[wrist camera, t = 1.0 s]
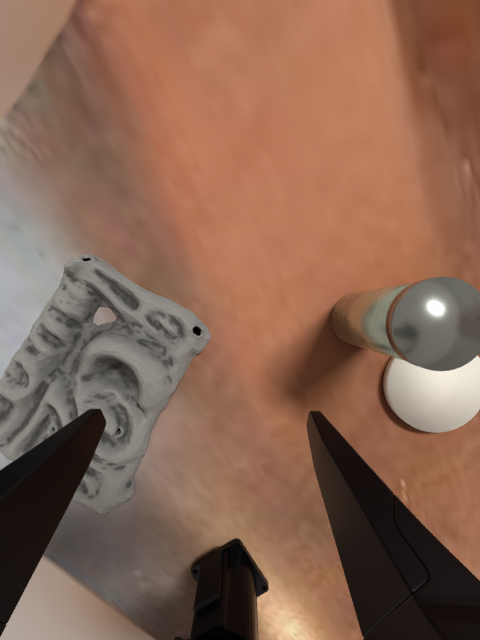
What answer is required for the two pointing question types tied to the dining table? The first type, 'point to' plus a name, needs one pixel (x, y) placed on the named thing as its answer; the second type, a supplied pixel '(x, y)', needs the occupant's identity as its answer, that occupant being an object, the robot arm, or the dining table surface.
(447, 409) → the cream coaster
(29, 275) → the dining table surface
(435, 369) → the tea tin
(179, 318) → the wall plaque
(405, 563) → the robot arm
